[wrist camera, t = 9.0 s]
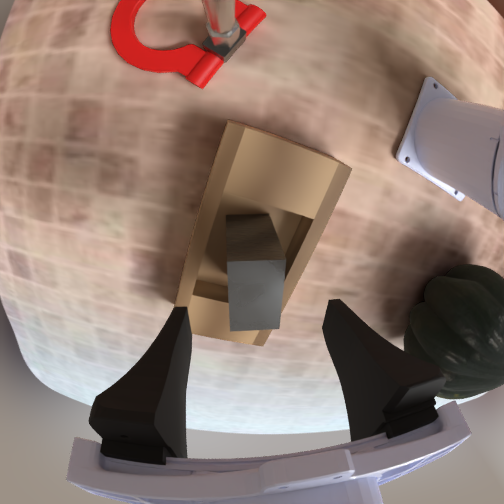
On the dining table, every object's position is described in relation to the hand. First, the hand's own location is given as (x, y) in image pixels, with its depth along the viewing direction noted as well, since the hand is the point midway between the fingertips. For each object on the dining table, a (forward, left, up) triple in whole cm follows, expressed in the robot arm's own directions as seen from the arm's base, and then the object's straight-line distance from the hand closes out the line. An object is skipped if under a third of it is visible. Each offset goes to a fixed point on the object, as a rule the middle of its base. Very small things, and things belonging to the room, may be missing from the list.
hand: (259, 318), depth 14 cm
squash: (-24, +1, -9) cm, 26 cm away
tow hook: (+10, -14, -9) cm, 19 cm away
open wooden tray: (0, 0, -9) cm, 9 cm away
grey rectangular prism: (0, 0, -8) cm, 8 cm away
